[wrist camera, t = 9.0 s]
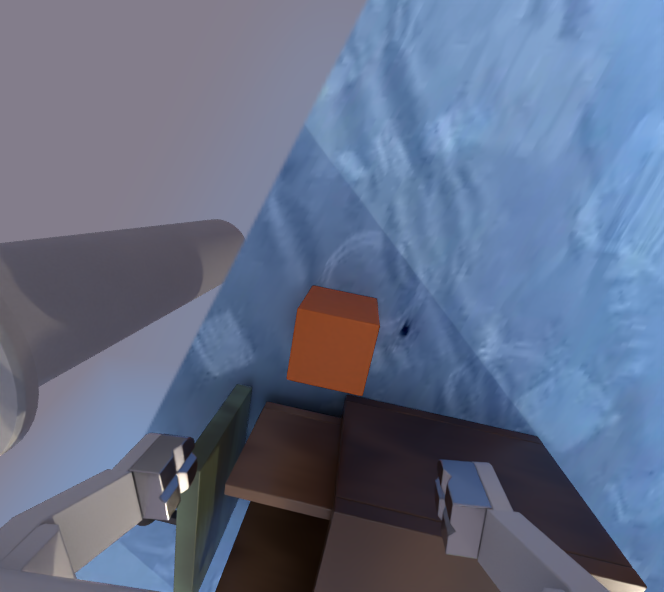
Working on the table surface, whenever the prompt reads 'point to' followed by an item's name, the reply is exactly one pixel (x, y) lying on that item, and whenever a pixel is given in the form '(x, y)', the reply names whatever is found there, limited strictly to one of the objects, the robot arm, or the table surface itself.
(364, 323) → the burnt orange cube
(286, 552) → the drawer
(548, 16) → the table surface
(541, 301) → the table surface
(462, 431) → the cabinet
